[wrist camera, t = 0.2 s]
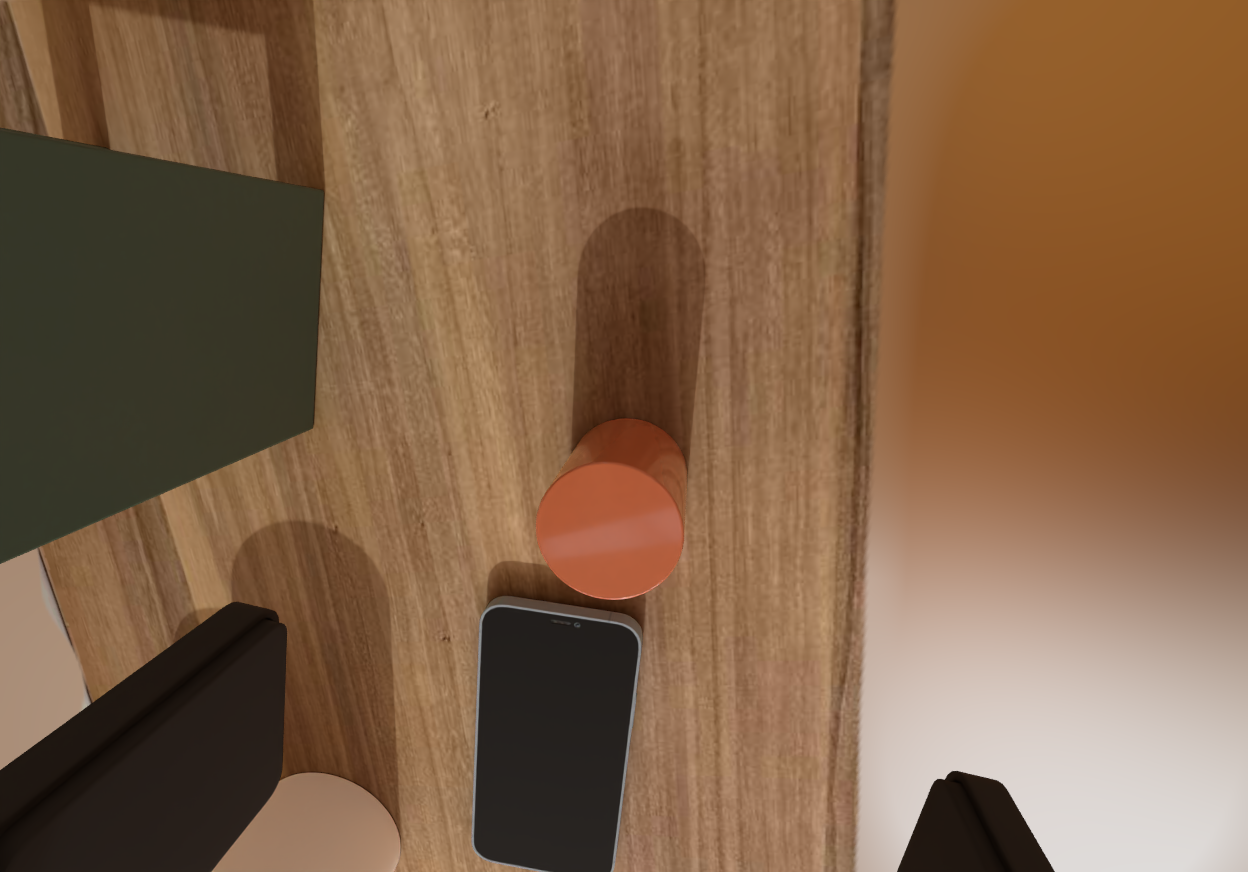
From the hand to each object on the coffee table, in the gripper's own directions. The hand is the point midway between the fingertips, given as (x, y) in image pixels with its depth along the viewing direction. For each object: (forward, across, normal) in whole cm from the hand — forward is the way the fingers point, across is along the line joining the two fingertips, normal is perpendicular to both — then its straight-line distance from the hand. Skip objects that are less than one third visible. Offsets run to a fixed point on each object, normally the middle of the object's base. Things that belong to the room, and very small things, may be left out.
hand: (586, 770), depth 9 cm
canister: (+18, +1, +2) cm, 18 cm away
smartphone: (+18, +2, +16) cm, 24 cm away
